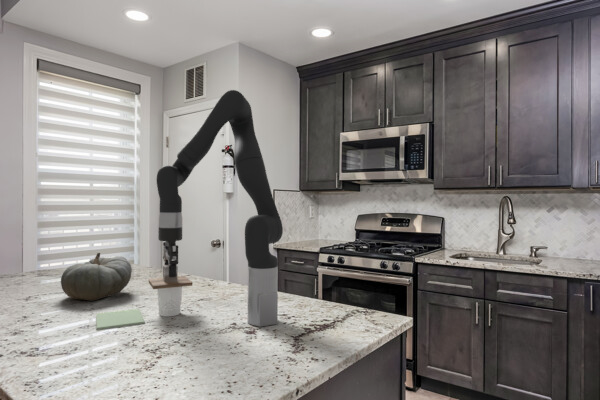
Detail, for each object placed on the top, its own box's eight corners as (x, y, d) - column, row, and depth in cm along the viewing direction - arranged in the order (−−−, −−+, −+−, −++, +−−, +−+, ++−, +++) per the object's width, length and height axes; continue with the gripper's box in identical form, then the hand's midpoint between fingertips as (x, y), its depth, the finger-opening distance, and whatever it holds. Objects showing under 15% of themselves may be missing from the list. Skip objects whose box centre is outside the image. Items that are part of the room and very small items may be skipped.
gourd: (146, 283, 161) (139, 243, 158) (112, 309, 137) (103, 263, 134) (92, 287, 164) (84, 248, 161) (49, 313, 139) (38, 268, 137)
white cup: (151, 315, 125) (152, 284, 125) (170, 309, 132) (170, 280, 132) (169, 318, 121) (169, 287, 121) (187, 312, 128) (187, 282, 128)
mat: (144, 323, 116) (144, 321, 116) (96, 329, 110) (96, 327, 110) (139, 310, 130) (139, 308, 130) (96, 315, 124) (96, 313, 124)
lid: (192, 285, 124) (192, 267, 124) (153, 289, 118) (153, 269, 118) (184, 278, 135) (184, 262, 135) (148, 282, 129) (148, 264, 129)
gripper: (186, 227, 122) (186, 277, 122) (178, 224, 135) (177, 270, 135) (162, 227, 119) (161, 279, 118) (155, 225, 131) (155, 272, 131)
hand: (170, 274), depth 127 cm, fingers open, 8 cm apart
